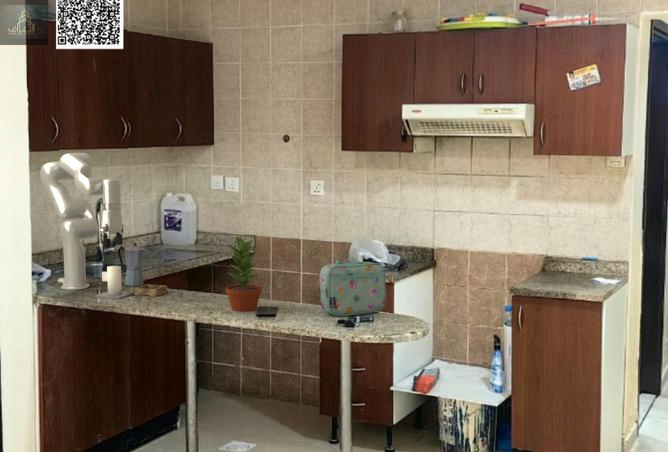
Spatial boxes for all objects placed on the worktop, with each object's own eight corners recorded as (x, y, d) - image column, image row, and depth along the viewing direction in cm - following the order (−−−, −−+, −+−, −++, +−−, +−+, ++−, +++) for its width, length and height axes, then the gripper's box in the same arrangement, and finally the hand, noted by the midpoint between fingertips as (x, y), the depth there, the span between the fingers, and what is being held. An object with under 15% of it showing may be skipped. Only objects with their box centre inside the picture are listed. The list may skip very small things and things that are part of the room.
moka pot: (144, 287, 456) (143, 244, 454) (113, 286, 460) (112, 243, 457) (152, 284, 466) (151, 241, 464) (121, 283, 469) (120, 241, 467)
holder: (134, 295, 437) (134, 288, 437) (146, 291, 447) (146, 284, 447) (155, 296, 434) (155, 289, 434) (167, 292, 444) (167, 285, 443)
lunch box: (326, 318, 385) (326, 264, 383) (316, 314, 395) (316, 260, 392) (388, 313, 396) (388, 259, 393) (376, 308, 405) (376, 256, 403)
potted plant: (249, 314, 395) (247, 239, 391) (219, 310, 403) (217, 236, 399) (270, 307, 407) (270, 235, 404) (241, 304, 415) (240, 233, 412)
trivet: (95, 297, 433) (95, 295, 433) (110, 292, 444) (110, 290, 444) (119, 298, 429) (119, 297, 429) (133, 294, 440) (133, 292, 440)
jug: (99, 294, 435) (98, 267, 434) (107, 292, 441) (106, 265, 440) (117, 295, 433) (116, 267, 431) (124, 292, 438) (123, 266, 437)
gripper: (115, 205, 441) (116, 243, 443) (93, 208, 425) (94, 248, 427) (129, 205, 439) (130, 244, 441) (108, 209, 423) (109, 249, 425)
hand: (113, 246), depth 434 cm, fingers open, 9 cm apart
